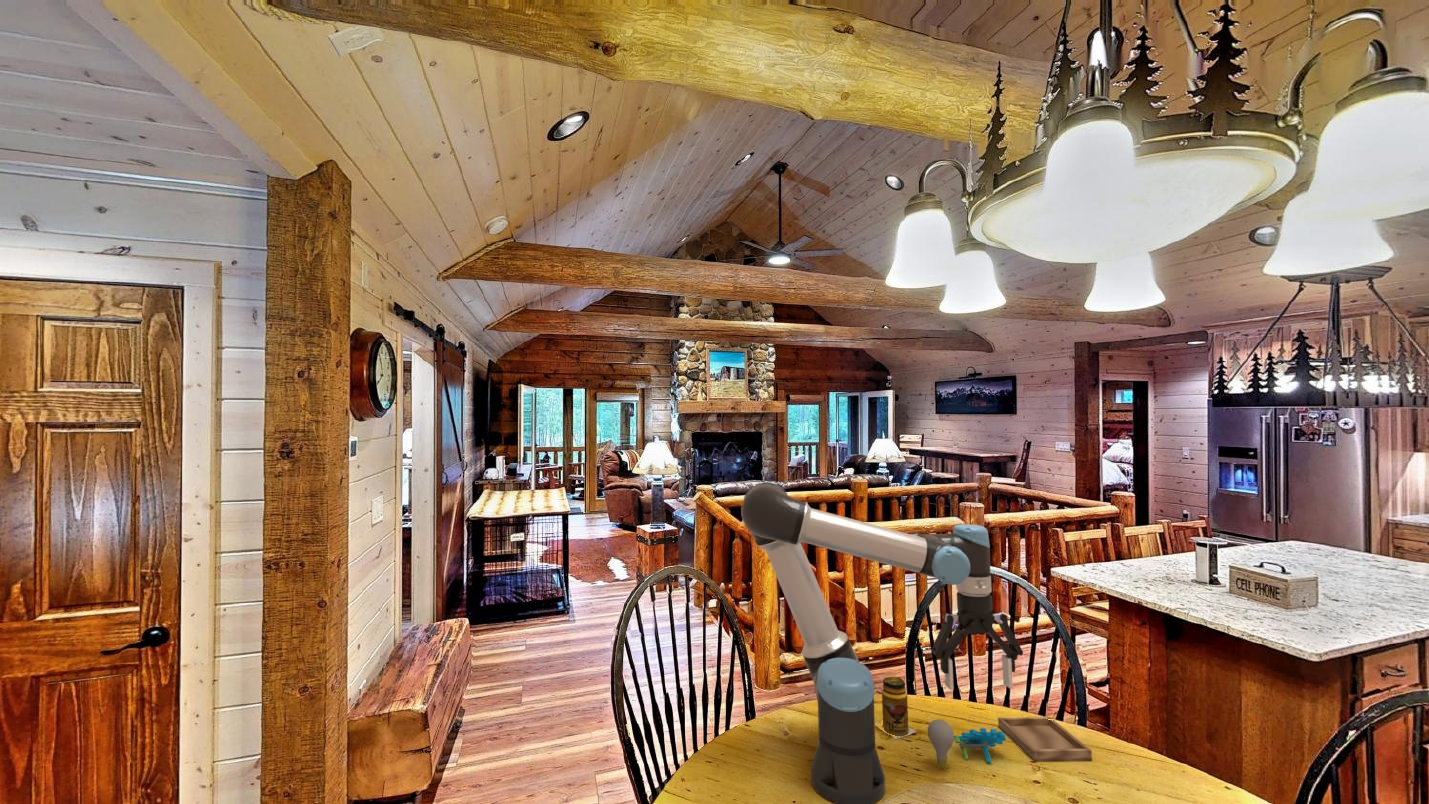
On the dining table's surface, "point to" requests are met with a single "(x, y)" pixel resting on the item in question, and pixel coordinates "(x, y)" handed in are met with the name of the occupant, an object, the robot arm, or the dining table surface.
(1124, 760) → the dining table surface
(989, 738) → the blue and green toy
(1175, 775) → the dining table surface
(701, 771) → the dining table surface
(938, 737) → the light bulb
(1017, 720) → the tray
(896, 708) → the condiment
